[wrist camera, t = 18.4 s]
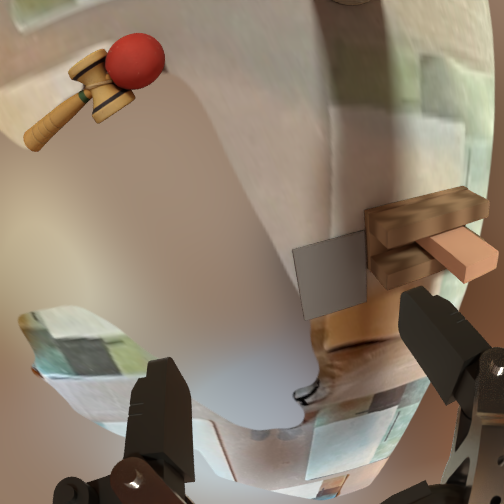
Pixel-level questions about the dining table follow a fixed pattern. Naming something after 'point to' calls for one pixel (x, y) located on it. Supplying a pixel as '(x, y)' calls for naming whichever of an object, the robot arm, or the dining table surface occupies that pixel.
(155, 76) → the kendama
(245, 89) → the dining table surface
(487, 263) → the block
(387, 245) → the rack
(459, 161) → the dining table surface
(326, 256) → the mat
